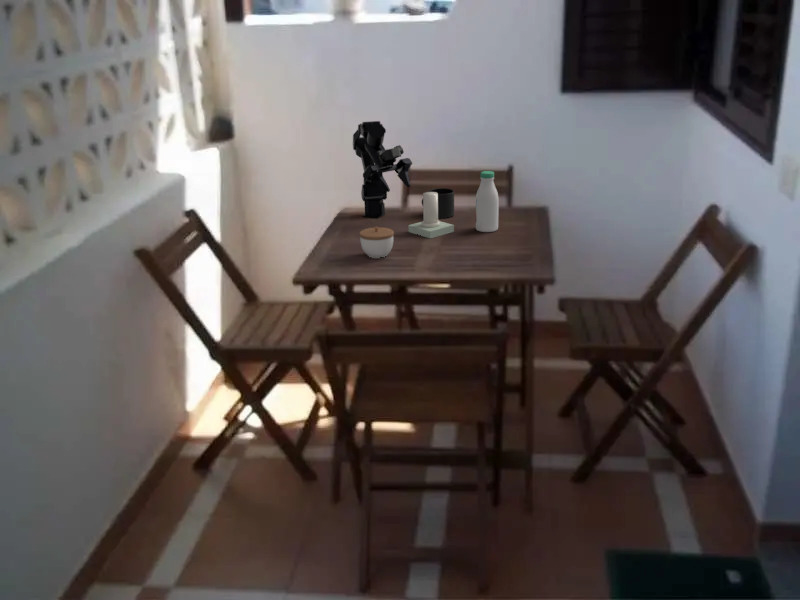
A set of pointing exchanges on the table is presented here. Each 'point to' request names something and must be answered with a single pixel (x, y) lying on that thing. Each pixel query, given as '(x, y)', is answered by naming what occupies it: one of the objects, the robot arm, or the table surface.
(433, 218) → the white rounded piece
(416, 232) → the block
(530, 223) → the table surface
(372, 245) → the lidded jar
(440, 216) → the mug
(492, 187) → the milk bottle
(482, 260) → the table surface
